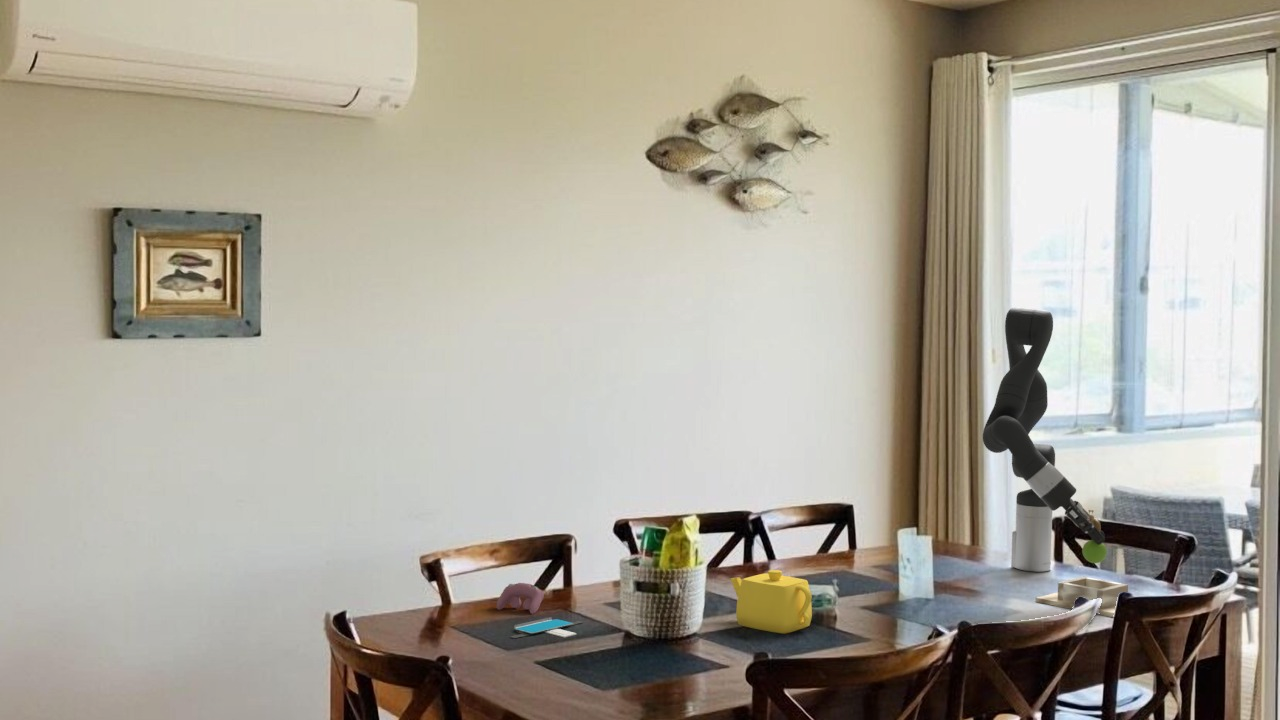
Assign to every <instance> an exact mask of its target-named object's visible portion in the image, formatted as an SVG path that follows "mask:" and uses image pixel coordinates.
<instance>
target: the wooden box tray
mask: <svg viewBox="0 0 1280 720" xmlns="http://www.w3.org/2000/svg"><path fill="white" fill-rule="evenodd" d="M1121 592H1128V593H1129V584H1126V583H1120V582H1115V581H1110V580H1105V579H1099V578H1092V577H1087V576H1082V577H1077V578H1073V579H1072V578H1071V579H1068V580H1063V581H1059V582H1058V583H1057V592H1053V593H1050V594H1049V593H1048V594H1046V595H1042V596H1037V597H1035V602H1036V603H1040V604H1045V605H1051V606H1055V607H1059V608H1065V609H1070V608H1072V607H1073V606H1074V601H1075V600H1076V598H1078V597H1085V598H1087V599H1088V600H1093V599H1097V598H1101V599H1102V603H1101V606H1100V608H1099V613H1100V614H1101V615H1100V616H1105V617H1110V618H1114V617H1113V615H1114V612H1115V606H1116V601H1117V597H1118V594H1119V593H1121Z"/></svg>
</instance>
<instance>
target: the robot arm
mask: <svg viewBox="0 0 1280 720" xmlns="http://www.w3.org/2000/svg"><path fill="white" fill-rule="evenodd" d="M1053 318H1054V317H1053V315H1052V313H1051V311H1049V310H1047V309H1039V308H1028V307H1012V308H1009V310H1008V312H1006V314H1005V322H1004V332H1005V341H1006V342H1005V344H1006V349H1007V356H1008V364H1009V365H1008V366H1009V370H1008V371H1007V372H1006V374H1004V376H1003V378H1002V379H1001V381H1000V384H999V387H998V390H997V393H996V394H997V395H996V397H995V402H994V406H993V408H992V410H991V412H990V414H989V416H988V418H987V420H986V423H985V425H984V428H983V431H982V442H983V445H984V447H985V448H986V449H987V450H988V451H990V453H991V452H992V453H996V454H998V453H1003V452H1005V451H1007V450H1009V452H1010V454H1011V468H1012V472H1013V475H1014V476H1015V477H1016V478H1020V479H1023V480H1024V482H1026V483H1027V485H1028V486H1029V487H1030V488H1029V489H1026V490H1022V491H1019V492H1017V494H1016V504H1015V505H1016V508H1015V530H1013V531H1012V532H1011V555H1010V557H1011V558H1010V559H1011V561H1010V567H1011V568H1015V569H1017V570H1021V571H1025V572H1026V571H1027V572H1038V573H1039V572H1049V571H1051V564H1052V563H1051V562H1052V561H1051V558H1052V536H1053V535H1052V533H1053V532H1052V531H1053V511H1056V510H1058V509H1060V508H1061V507H1062V508H1063V509H1064V510H1065V511H1064V515H1065V516H1066V517H1067V518H1068V519H1070V520H1071V521H1072V522H1073V524H1074V525H1075V526H1076V527H1078V528H1079V529H1080V530H1081V531H1082V532H1083V533H1084V534H1086V535H1088V536H1089V537H1090V538H1091V540H1092V539H1093V540H1094V541H1095V542H1096V543H1097V544H1098V545H1100V544H1102V543H1103V544H1104V542H1105V541H1106V537H1105V536H1106V534H1105V533H1104V531H1103V530H1101V531H1100V532H1099V531H1098V530H1097V529H1096V528H1095V526H1094V525H1093V524H1092V523H1091V522H1090V521H1089V511H1087V510H1086V509H1085V508H1084V507H1083V505H1082V504H1081V503H1080V501H1079V500H1073V499H1072V497H1073V496H1074V495H1075V494H1076V493H1077V488H1076V487H1075V486H1074V485H1073V484H1072V483H1071V482H1070V481H1069V479H1067V478H1066V476H1064V475H1063V474H1062V473H1061V472H1060V470H1059V469H1057V468H1056V451H1055V449H1054V447H1053V446H1052V445H1051V444H1045V443H1044V444H1043V443H1039V444H1038V443H1034V442H1033V440H1032V439H1031V437H1030V436H1029V434H1030V433H1031V431H1033V428H1035V426H1036V425H1037V424H1038V422H1040V420H1041V419H1042V418H1043V416H1044V415H1045V414H1046V411H1047V409H1048V405H1049V404H1048V386H1047V382H1046V380H1045V378H1044V376H1043V374H1041V372H1040V370H1038V369H1039V367H1040V365H1041V363H1042V361H1043V358H1044V356H1045V353H1046V352H1047V349H1048V347H1049V344H1050V342H1051V338H1052V335H1053V329H1054V319H1053ZM1025 346H1028V347H1029V346H1030V348H1029V351H1028V352H1026V349H1025Z"/></svg>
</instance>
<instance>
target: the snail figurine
mask: <svg viewBox="0 0 1280 720" xmlns="http://www.w3.org/2000/svg"><path fill="white" fill-rule="evenodd" d="M1087 512H1088V514H1089V521H1090V522H1091V523H1092V524H1093V525H1094V526H1095V528H1096V529H1097V530H1098V531H1099V532H1100V531H1101V529H1102V526H1101V525H1102V524H1101V521H1100V520H1099V519H1097V518H1095V516H1094V515H1093V513H1094V510H1093V509H1088V511H1087ZM1090 513H1091V514H1090ZM1081 551H1082V556H1083V557H1084V560H1086V561H1087V562H1089V563H1091V564H1099V563H1101V562H1103V561H1104V560H1105V559H1106V557H1107V555H1108V550H1107V546H1106V545H1105V544H1104V542H1103V543H1102V544H1100V545H1098V544H1097V543H1096V542H1095V541H1094V540H1093V539H1092V538H1091V539H1090V540H1088V541H1086V542H1085V543H1084V544H1083V546H1082V550H1081Z"/></svg>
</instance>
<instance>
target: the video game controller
mask: <svg viewBox="0 0 1280 720" xmlns="http://www.w3.org/2000/svg"><path fill="white" fill-rule="evenodd" d="M544 596H545V595H544V592H543V590H542V589H540V588H539V587H538V586H535V585H533V584H530V583H525V582H518V583H508V585H507V586H505V588H504V589H503V590H502V592H501V594H500V596H499V597H498V599H497V602H496V609H497V610H498V611H500V610H503V609H504V608H505V607H506V605H507V604H509V605H510V606H511V608H513V609H519V608H520V607H521V606H522V608H523V609H524V610H526V611H529V613H530V614H531V615H534V614H535V613H536V612H537V611H538V609H539V608H540V605H541V603H542V601H543V600H544ZM523 597H524V598H526V599H524V600H523V602H522V600H521V598H523Z"/></svg>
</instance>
